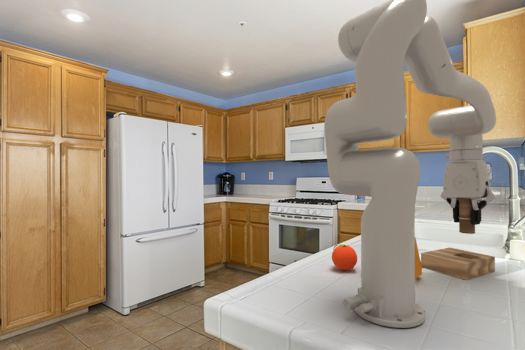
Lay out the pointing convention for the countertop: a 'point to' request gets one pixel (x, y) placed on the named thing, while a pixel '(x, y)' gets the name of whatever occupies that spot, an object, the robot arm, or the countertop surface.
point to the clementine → (344, 257)
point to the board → (458, 262)
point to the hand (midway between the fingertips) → (466, 222)
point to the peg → (465, 216)
